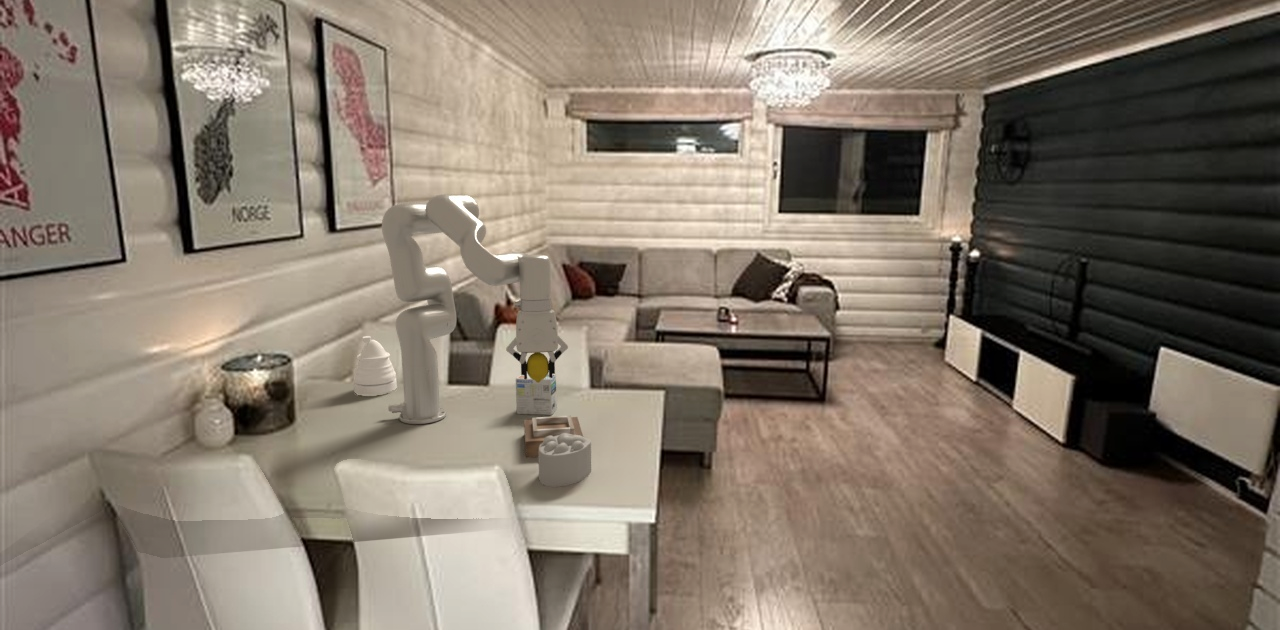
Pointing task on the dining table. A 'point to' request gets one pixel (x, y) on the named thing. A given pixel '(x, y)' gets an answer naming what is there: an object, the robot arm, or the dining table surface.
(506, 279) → the robot arm
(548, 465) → the lumpy-topped squat cylinder
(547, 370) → the lemon
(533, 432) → the walnut plinth
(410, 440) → the dining table surface
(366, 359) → the honey pot
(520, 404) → the light bulb box
